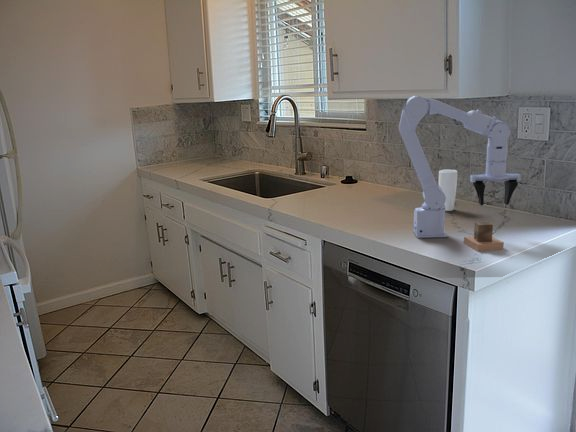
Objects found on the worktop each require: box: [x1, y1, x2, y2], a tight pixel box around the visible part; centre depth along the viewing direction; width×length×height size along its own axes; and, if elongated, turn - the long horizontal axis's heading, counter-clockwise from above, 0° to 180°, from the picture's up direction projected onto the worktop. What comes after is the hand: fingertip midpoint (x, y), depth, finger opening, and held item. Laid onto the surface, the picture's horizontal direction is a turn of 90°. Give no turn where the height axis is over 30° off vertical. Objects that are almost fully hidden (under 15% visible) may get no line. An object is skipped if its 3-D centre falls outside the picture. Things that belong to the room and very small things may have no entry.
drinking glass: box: [437, 168, 458, 212], centre depth 194 cm, size 7×7×15 cm
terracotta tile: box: [463, 235, 504, 252], centre depth 152 cm, size 8×8×2 cm
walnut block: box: [473, 221, 494, 242], centre depth 151 cm, size 4×4×5 cm
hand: (493, 204), depth 160 cm, fingers open, 7 cm apart
